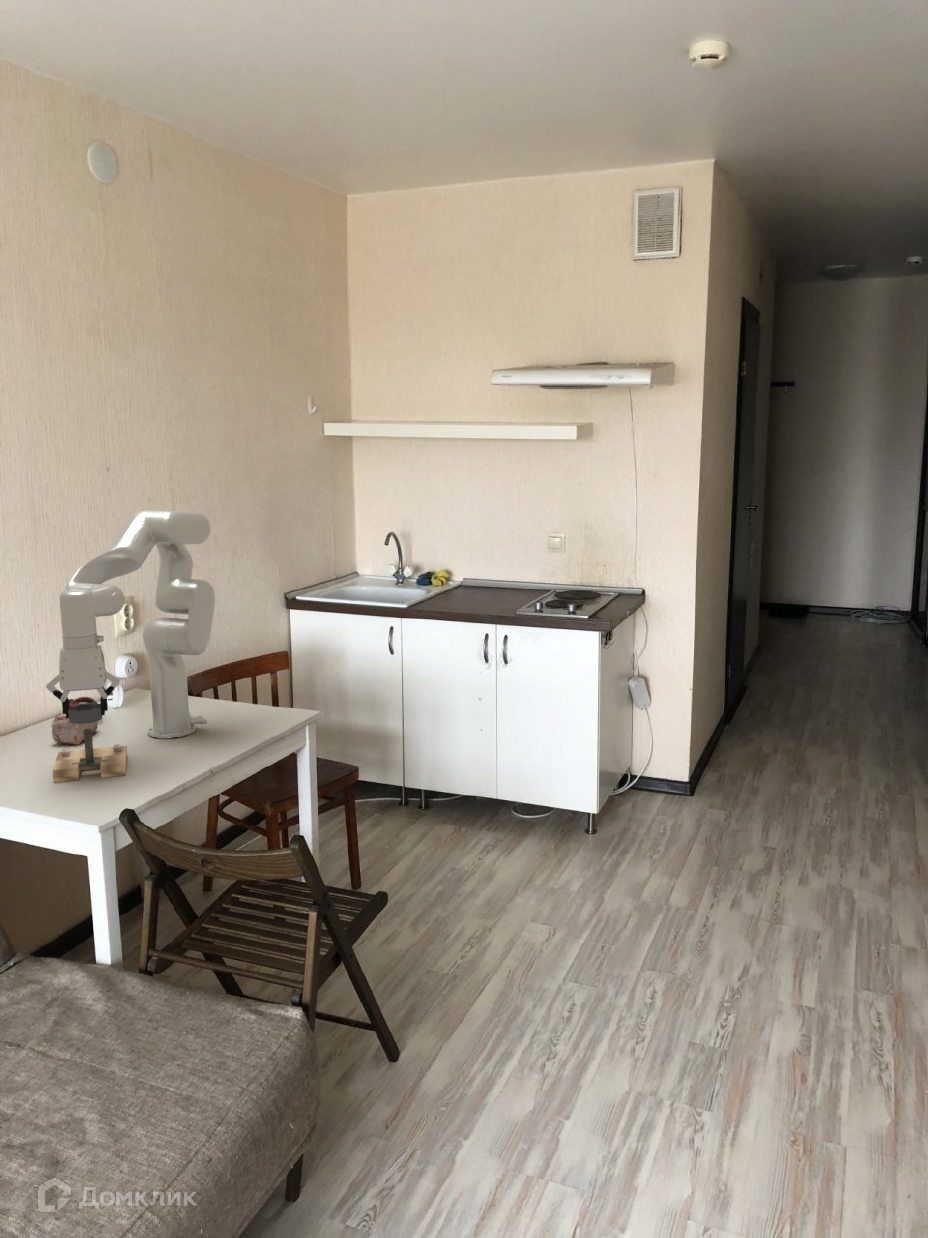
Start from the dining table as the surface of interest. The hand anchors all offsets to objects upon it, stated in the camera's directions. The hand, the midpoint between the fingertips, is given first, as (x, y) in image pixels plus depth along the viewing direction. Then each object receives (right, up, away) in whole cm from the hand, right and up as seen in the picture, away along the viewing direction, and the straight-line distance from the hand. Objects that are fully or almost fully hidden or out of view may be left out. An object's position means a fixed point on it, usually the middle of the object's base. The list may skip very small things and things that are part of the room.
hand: (85, 714), depth 234 cm
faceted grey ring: (0, -1, 0) cm, 1 cm away
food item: (-14, -10, +30) cm, 35 cm away
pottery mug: (-18, -7, +45) cm, 49 cm away
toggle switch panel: (-1, -14, +6) cm, 15 cm away
